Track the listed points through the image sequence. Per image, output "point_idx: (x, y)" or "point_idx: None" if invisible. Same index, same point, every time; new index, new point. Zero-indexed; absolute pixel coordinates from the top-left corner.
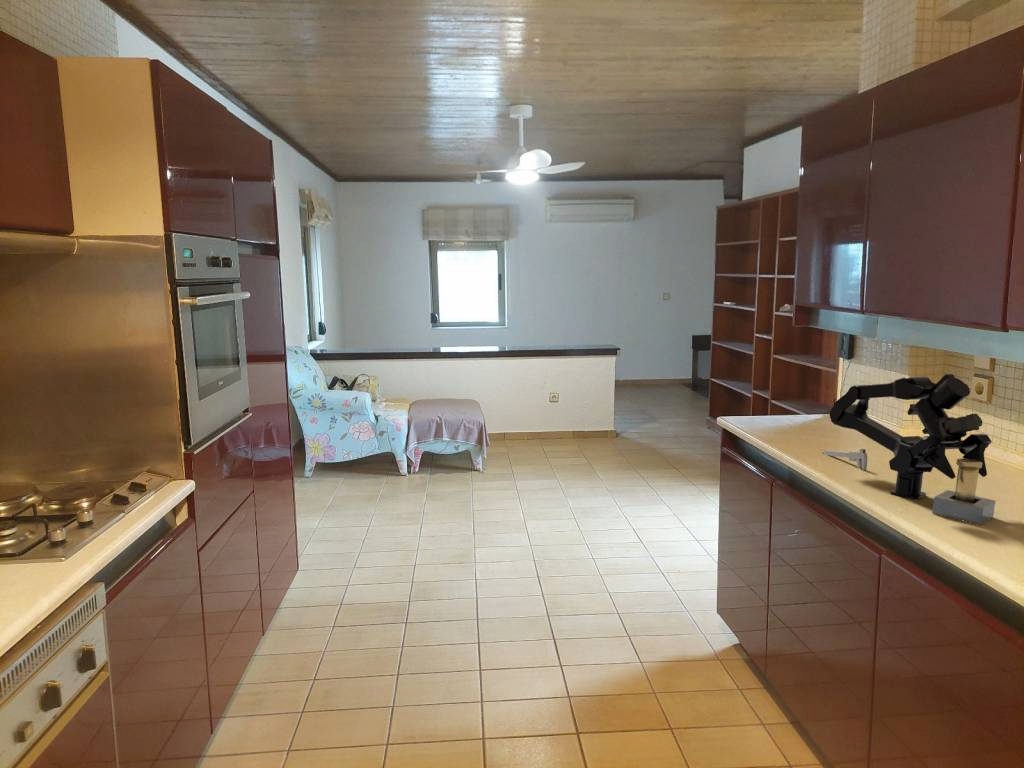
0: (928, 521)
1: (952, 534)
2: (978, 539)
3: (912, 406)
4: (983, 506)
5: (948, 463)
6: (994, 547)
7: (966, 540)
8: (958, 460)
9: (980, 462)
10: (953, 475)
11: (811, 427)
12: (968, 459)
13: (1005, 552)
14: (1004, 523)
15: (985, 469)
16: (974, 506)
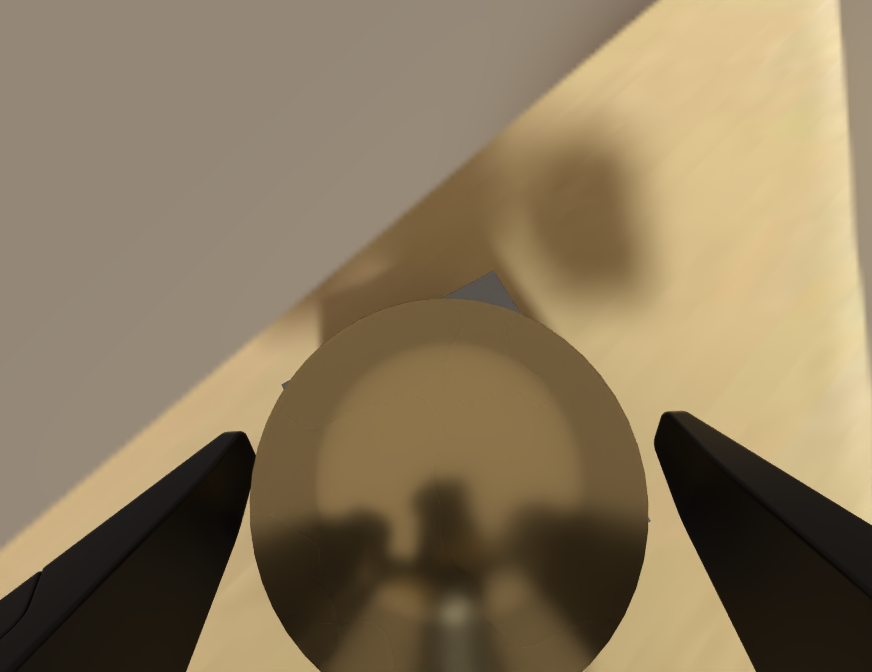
0: (717, 391)
1: (719, 225)
2: (643, 165)
3: None
4: (463, 297)
5: (839, 543)
6: (644, 92)
7: (706, 161)
8: (617, 579)
9: (312, 387)
10: (697, 420)
11: None
12: (341, 616)
13: (641, 51)
14: (347, 311)
15: (185, 469)
16: (516, 308)
